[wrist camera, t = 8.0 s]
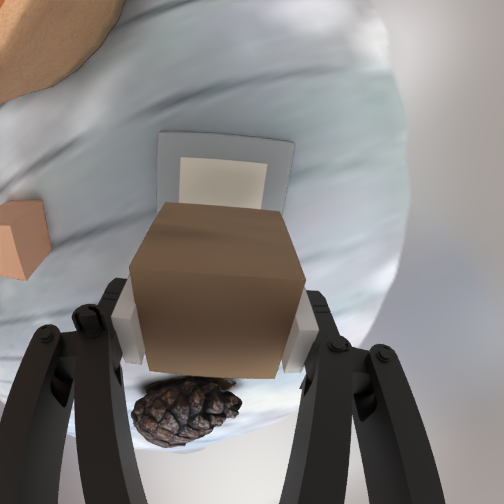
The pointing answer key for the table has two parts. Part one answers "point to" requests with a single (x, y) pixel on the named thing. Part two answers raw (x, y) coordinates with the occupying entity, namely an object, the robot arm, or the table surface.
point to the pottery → (49, 40)
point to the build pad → (222, 170)
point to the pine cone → (184, 409)
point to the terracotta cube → (22, 238)
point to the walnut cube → (216, 291)
